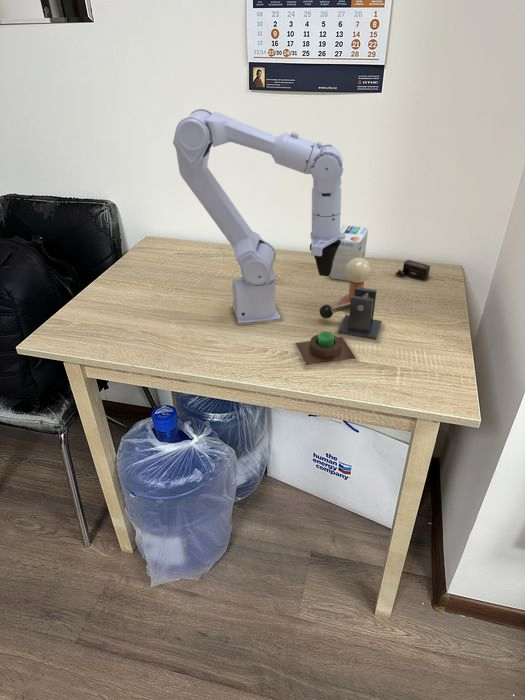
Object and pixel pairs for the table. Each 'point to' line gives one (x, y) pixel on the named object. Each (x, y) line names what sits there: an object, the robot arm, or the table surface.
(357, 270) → the globe lamp
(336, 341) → the button block
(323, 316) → the switch lever
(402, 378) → the table surface
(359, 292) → the switch bracket
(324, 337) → the light button
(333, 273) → the light bulb box
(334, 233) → the robot arm
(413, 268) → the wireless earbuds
